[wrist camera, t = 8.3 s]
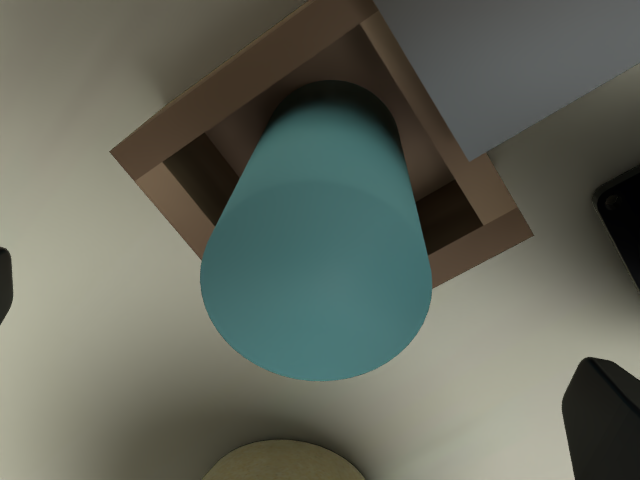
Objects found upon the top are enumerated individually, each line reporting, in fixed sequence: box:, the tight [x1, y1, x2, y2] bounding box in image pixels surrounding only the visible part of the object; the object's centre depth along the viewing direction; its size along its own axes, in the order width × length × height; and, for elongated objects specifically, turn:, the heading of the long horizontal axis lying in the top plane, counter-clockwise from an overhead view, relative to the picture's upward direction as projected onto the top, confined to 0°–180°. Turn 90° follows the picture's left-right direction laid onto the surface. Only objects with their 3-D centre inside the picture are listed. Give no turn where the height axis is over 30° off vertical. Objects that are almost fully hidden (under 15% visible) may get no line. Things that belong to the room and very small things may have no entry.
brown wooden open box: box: [109, 0, 640, 289], centre depth 14 cm, size 9×12×6 cm
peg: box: [200, 80, 432, 381], centre depth 14 cm, size 4×4×8 cm
